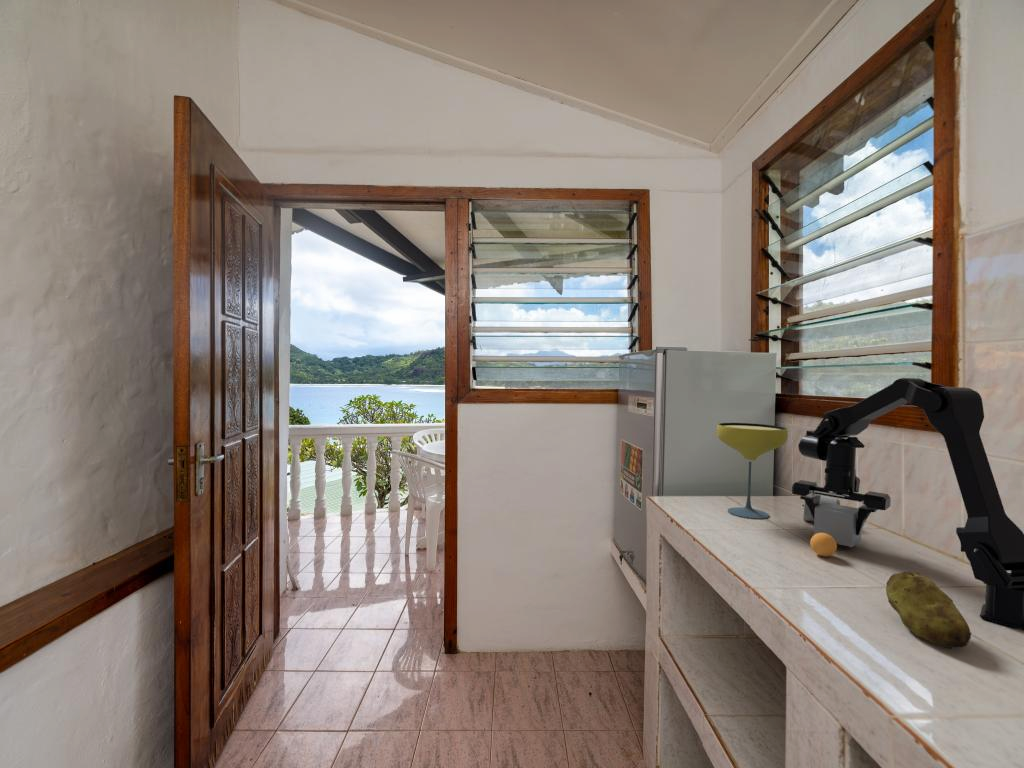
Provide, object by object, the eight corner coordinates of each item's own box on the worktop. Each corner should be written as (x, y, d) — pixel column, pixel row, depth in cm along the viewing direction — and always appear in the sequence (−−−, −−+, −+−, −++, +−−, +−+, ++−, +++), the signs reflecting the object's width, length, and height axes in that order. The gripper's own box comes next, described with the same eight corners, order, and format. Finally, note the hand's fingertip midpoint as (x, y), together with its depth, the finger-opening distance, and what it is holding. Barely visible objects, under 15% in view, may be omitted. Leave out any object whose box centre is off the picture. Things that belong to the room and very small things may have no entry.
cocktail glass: (794, 525, 133) (798, 431, 132) (722, 520, 136) (726, 428, 135) (770, 507, 151) (774, 424, 150) (707, 503, 153) (710, 421, 153)
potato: (904, 646, 74) (907, 592, 74) (878, 608, 86) (881, 562, 86) (976, 659, 71) (979, 604, 71) (939, 618, 83) (941, 571, 83)
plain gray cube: (852, 547, 112) (853, 514, 112) (813, 538, 118) (814, 507, 118) (860, 539, 118) (862, 509, 117) (823, 531, 123) (824, 502, 123)
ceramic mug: (838, 529, 131) (840, 499, 131) (802, 522, 135) (804, 494, 135) (839, 520, 140) (840, 492, 140) (805, 514, 144) (806, 488, 144)
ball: (832, 561, 107) (833, 538, 107) (806, 555, 111) (807, 532, 111) (839, 556, 111) (840, 533, 111) (813, 550, 114) (814, 528, 114)
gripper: (897, 466, 116) (893, 533, 116) (807, 455, 130) (804, 515, 130) (886, 472, 108) (883, 544, 109) (792, 460, 122) (789, 523, 122)
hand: (837, 530), depth 118 cm, fingers closed on plain gray cube, 8 cm apart
